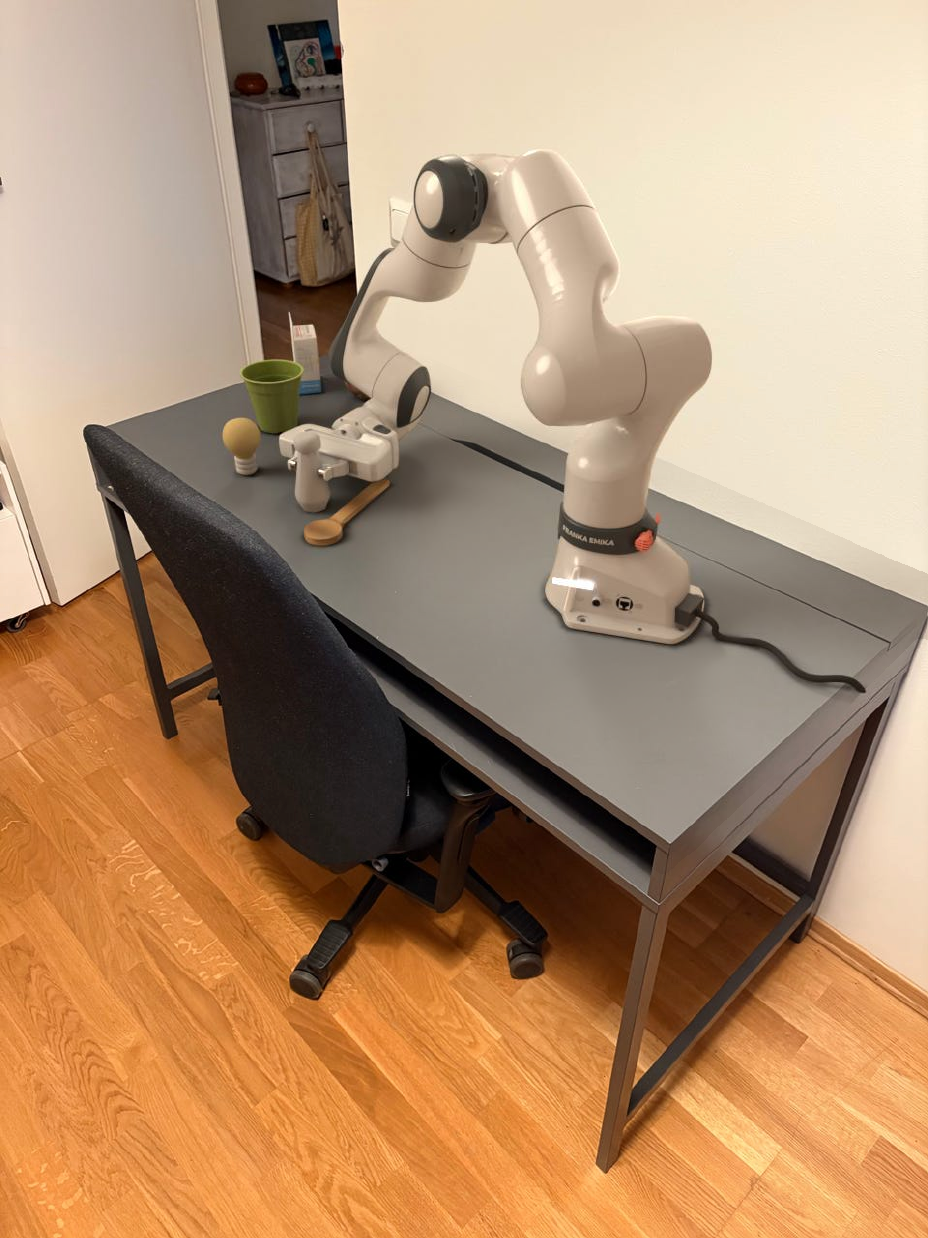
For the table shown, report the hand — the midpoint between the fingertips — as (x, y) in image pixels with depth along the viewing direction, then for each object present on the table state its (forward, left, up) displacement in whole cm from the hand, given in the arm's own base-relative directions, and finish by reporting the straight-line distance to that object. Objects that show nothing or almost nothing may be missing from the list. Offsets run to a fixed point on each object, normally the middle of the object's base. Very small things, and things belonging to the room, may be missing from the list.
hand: (306, 471), depth 147 cm
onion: (+15, -44, -7) cm, 47 cm away
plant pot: (+23, -24, -7) cm, 34 cm away
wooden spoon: (-7, -2, -7) cm, 10 cm away
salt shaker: (0, -1, -7) cm, 7 cm away
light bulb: (+17, -6, -7) cm, 20 cm away
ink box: (+29, -43, -7) cm, 53 cm away
